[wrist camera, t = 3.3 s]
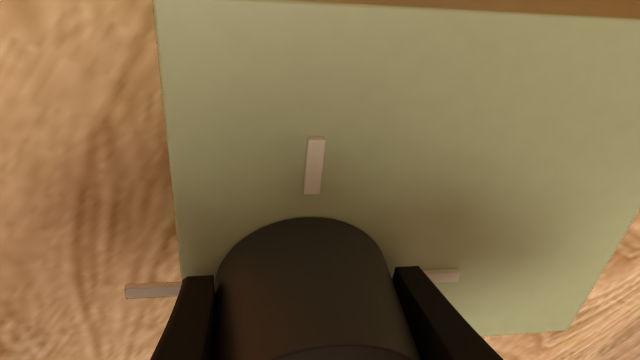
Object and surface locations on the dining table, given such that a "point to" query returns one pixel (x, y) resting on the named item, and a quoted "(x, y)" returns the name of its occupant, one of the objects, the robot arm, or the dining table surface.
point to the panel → (411, 138)
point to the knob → (308, 297)
